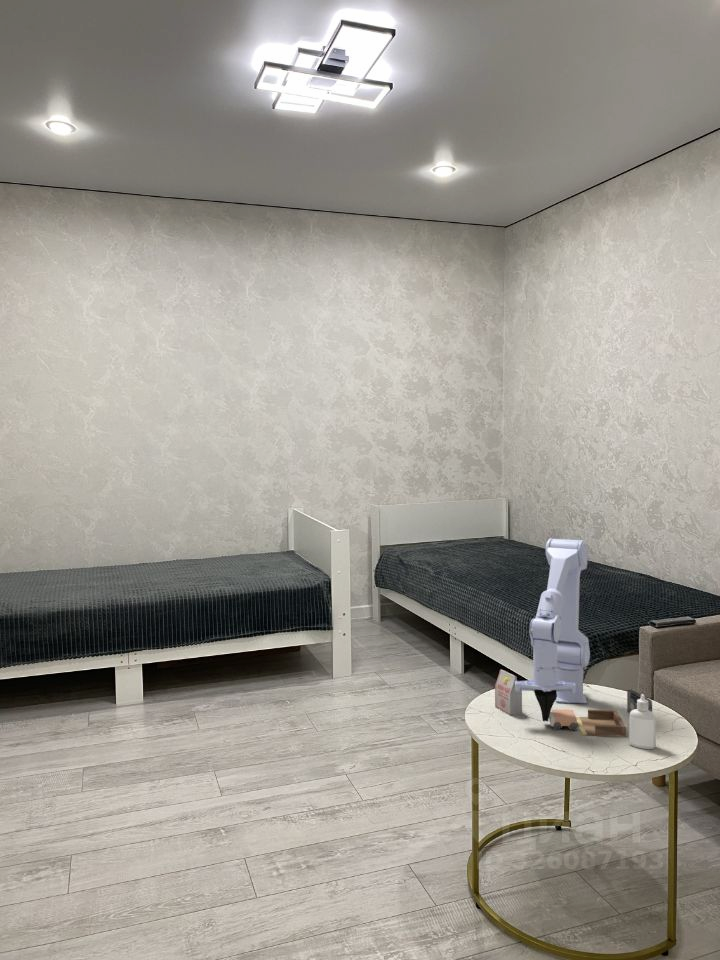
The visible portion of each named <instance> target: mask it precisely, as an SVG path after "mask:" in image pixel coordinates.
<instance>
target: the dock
mask: <svg viewBox="0 0 720 960" xmlns="http://www.w3.org/2000/svg"><path fill="white" fill-rule="evenodd" d="M576 719H577V723H578V727H579V729H580V732H581V734H582V736H592V737H593V736H596V737H599V736H600V737H601V736H602V737H623V738H624V737H625V738H626V737H627V726H626V724H625V723H624V721H623V719H622V717H621V715H620V714H619V712H618V710H616V709H590V708H589V709H587V716H579V717H578V716H576Z"/></svg>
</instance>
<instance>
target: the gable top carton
mask: <svg viewBox="0 0 720 960" xmlns="http://www.w3.org/2000/svg"><path fill="white" fill-rule="evenodd" d="M515 681H518V679H517V675H514V674H512V673H509V672H508V671H506V670H503V669H499V673H498V676H497V679H496V682H495V684H494V708H496V709H498V710H499V709H500V710H499V711H501V712H503V713H505V714H506V715H508V716H516V715H521V714H523V691H521V690H520V691H516V690H515Z"/></svg>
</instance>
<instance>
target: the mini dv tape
mask: <svg viewBox="0 0 720 960" xmlns="http://www.w3.org/2000/svg"><path fill="white" fill-rule="evenodd" d="M626 692H627V694H626V695H627V700H626V701H627V704H626V706H627V707H626V708H627V709H626V713H628V714H629V715H630V712H631V711H632V710H634V709H637V700H638V699H640V698H641V693H638V692H637V691H635V690H633V689H627V690H626ZM645 699H646V700H647V701H648V710H649V711H651V712H652V713H653V701H652V700H651V699H649V698H648V697H646V696H645Z"/></svg>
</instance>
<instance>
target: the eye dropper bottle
mask: <svg viewBox="0 0 720 960" xmlns="http://www.w3.org/2000/svg"><path fill="white" fill-rule="evenodd" d="M640 694H641V693H640ZM645 697H646V695H645V694H643V693H642V694H641V698H640V699H638V700H637V709H634V710H632V711H631V712H630V714H629V719H628V720H629V722H628V723H629V724H628V725H629V727H628V729H629V730H628V731H629V733H628V734H629V736H628V739H629V740H628V742H629V745H630V746H632V747H635V748H639V749H643V750H654V749H656V746H657V745H656V744H657V743H656V741H657V737H656V736H657V718H656V714H655V713H654V712H653V711H652V712H651V711H649V710H648V701H647V700H646V699H645Z"/></svg>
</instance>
